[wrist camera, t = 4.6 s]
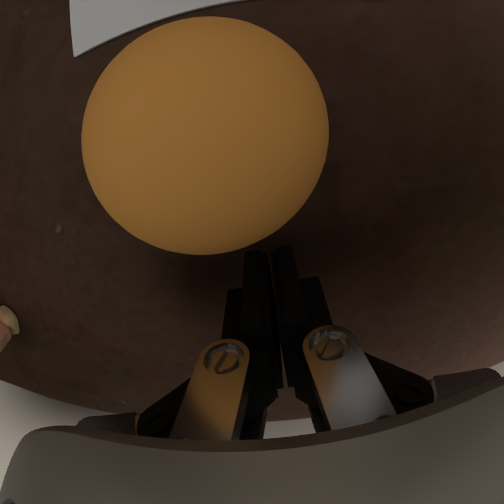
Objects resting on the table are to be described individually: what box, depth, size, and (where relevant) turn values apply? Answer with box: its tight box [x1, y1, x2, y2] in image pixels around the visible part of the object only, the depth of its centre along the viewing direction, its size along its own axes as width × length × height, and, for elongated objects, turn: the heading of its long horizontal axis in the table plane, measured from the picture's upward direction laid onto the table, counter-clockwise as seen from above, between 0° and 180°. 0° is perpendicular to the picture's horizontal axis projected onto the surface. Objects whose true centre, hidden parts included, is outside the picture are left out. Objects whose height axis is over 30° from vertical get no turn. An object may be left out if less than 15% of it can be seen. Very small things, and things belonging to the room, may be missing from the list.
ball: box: [81, 16, 329, 255], centre depth 6 cm, size 6×6×6 cm
